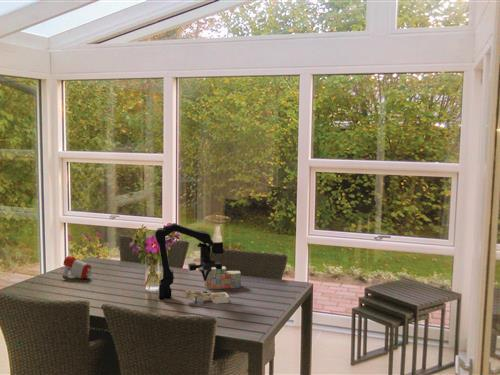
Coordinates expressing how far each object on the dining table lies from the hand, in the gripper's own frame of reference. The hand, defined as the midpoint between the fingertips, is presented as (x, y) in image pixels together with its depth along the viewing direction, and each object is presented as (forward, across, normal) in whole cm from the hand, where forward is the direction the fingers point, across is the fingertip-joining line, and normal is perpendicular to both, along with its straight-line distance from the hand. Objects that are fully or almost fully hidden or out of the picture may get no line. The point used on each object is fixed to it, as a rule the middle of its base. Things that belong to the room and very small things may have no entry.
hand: (204, 280), depth 296 cm
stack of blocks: (+10, +14, +16) cm, 24 cm away
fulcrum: (+9, -6, -9) cm, 14 cm away
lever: (+7, -5, -5) cm, 10 cm away
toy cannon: (+9, -72, +54) cm, 90 cm away
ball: (+7, +5, -9) cm, 12 cm away
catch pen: (+9, +7, -9) cm, 15 cm away
